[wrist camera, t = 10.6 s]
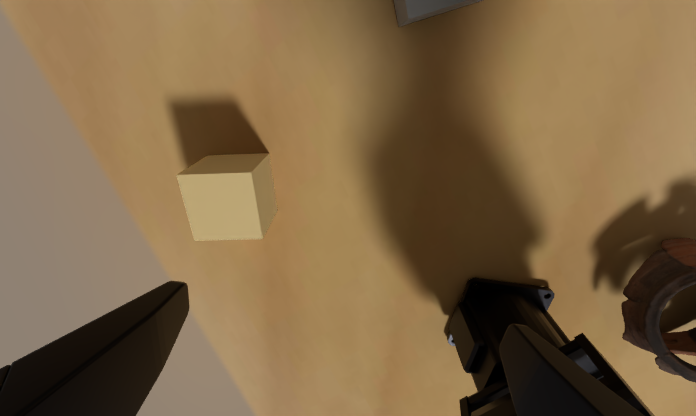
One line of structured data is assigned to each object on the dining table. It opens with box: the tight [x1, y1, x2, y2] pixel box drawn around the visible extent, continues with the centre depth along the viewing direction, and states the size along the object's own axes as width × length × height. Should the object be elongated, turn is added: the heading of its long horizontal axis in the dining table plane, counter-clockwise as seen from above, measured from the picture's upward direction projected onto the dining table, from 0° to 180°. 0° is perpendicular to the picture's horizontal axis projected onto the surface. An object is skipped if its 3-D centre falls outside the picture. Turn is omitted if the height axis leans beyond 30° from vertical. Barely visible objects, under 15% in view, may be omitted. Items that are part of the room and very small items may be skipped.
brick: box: [176, 153, 278, 241], centre depth 20 cm, size 4×4×4 cm
